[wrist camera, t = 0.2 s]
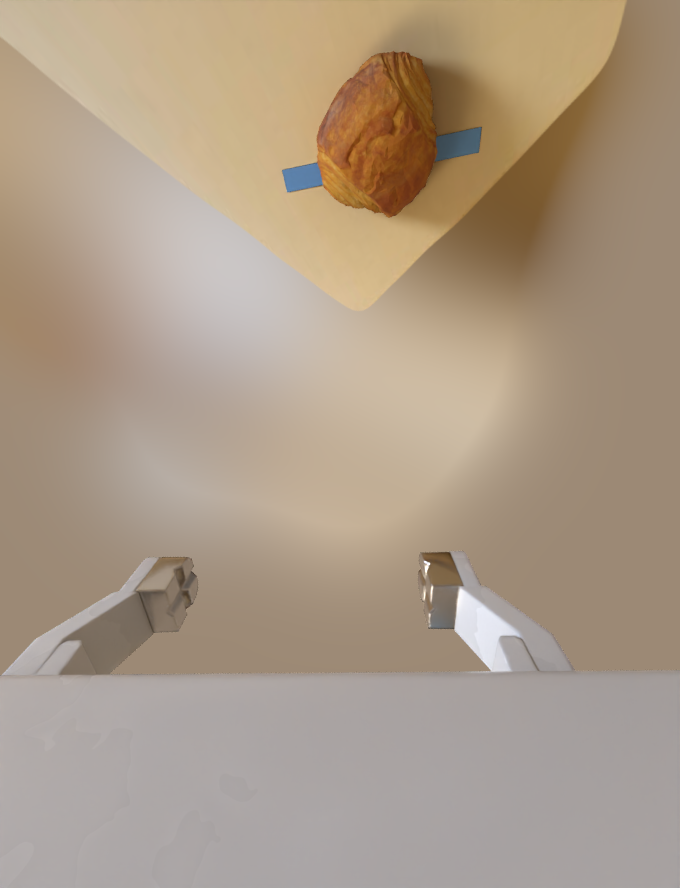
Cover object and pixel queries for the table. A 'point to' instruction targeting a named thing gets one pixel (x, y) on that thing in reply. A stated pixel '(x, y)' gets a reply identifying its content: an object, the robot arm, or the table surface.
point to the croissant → (379, 135)
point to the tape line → (446, 149)
